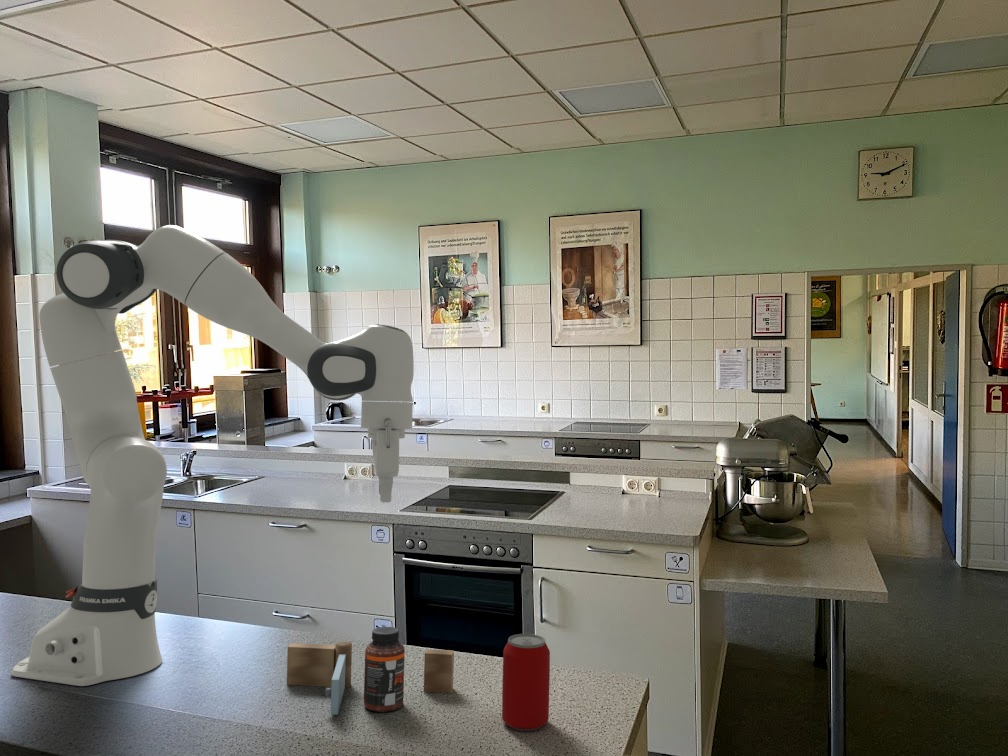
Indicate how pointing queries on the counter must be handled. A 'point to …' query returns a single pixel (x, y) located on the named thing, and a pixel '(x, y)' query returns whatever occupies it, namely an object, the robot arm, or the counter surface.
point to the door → (337, 685)
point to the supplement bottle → (384, 671)
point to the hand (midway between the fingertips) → (384, 498)
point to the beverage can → (525, 682)
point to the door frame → (320, 662)
